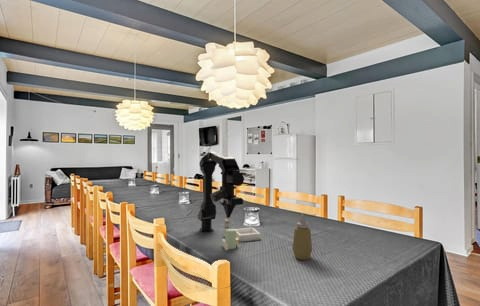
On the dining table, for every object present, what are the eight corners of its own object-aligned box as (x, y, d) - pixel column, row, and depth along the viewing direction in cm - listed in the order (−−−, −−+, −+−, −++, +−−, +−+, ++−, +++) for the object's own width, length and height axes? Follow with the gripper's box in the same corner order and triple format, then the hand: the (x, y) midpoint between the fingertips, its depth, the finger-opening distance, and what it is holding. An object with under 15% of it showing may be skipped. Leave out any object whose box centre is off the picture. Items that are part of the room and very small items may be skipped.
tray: (233, 235, 144) (233, 229, 143) (252, 233, 147) (252, 227, 147) (239, 241, 133) (239, 235, 133) (260, 239, 137) (260, 233, 137)
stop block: (224, 246, 127) (225, 229, 127) (233, 245, 128) (233, 228, 128) (227, 249, 123) (227, 231, 123) (235, 248, 124) (235, 230, 124)
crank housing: (218, 240, 135) (218, 234, 135) (236, 238, 138) (236, 232, 138) (225, 250, 121) (225, 243, 121) (246, 247, 125) (246, 241, 125)
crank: (240, 244, 125) (240, 229, 125) (234, 244, 124) (234, 230, 124) (228, 230, 146) (228, 218, 146) (223, 231, 145) (223, 219, 145)
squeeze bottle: (297, 262, 109) (298, 217, 109) (289, 254, 117) (289, 212, 117) (315, 260, 111) (316, 216, 111) (306, 253, 119) (306, 211, 119)
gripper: (204, 183, 132) (204, 216, 132) (221, 186, 116) (221, 223, 116) (224, 182, 138) (225, 213, 137) (243, 185, 122) (244, 220, 121)
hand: (228, 217), depth 128 cm, fingers closed
